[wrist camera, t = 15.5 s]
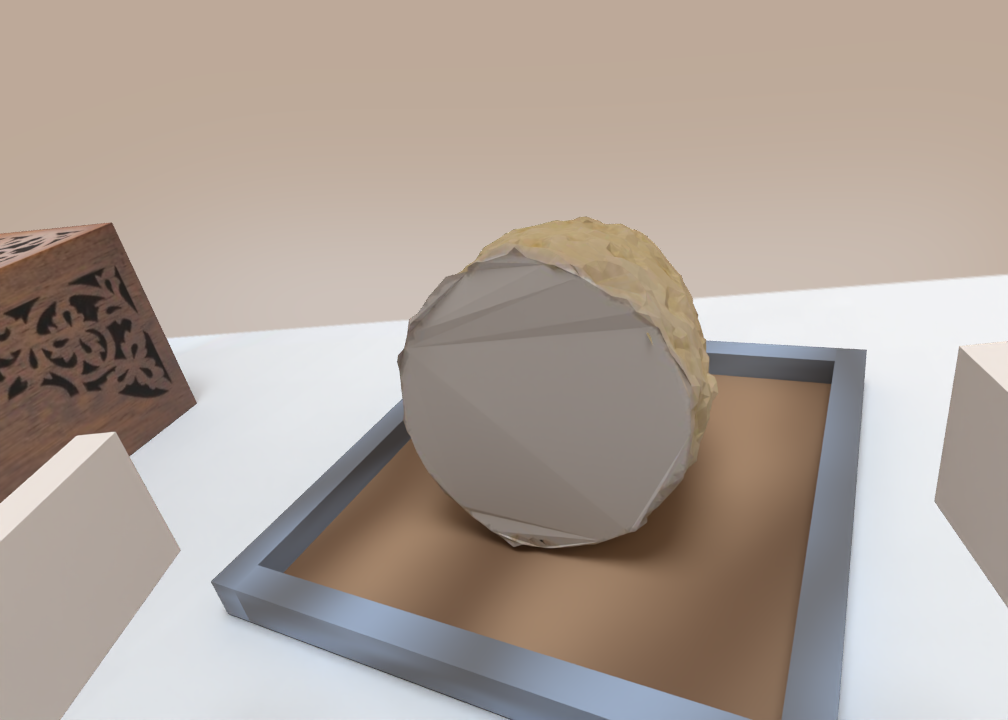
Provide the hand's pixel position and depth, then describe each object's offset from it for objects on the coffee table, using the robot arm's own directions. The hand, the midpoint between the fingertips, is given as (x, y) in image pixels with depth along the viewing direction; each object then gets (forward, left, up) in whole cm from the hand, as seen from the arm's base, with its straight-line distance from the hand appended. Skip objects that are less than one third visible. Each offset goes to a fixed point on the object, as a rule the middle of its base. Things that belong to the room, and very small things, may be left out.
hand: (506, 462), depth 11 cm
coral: (-3, +9, -8) cm, 13 cm away
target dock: (-4, +9, -9) cm, 13 cm away
